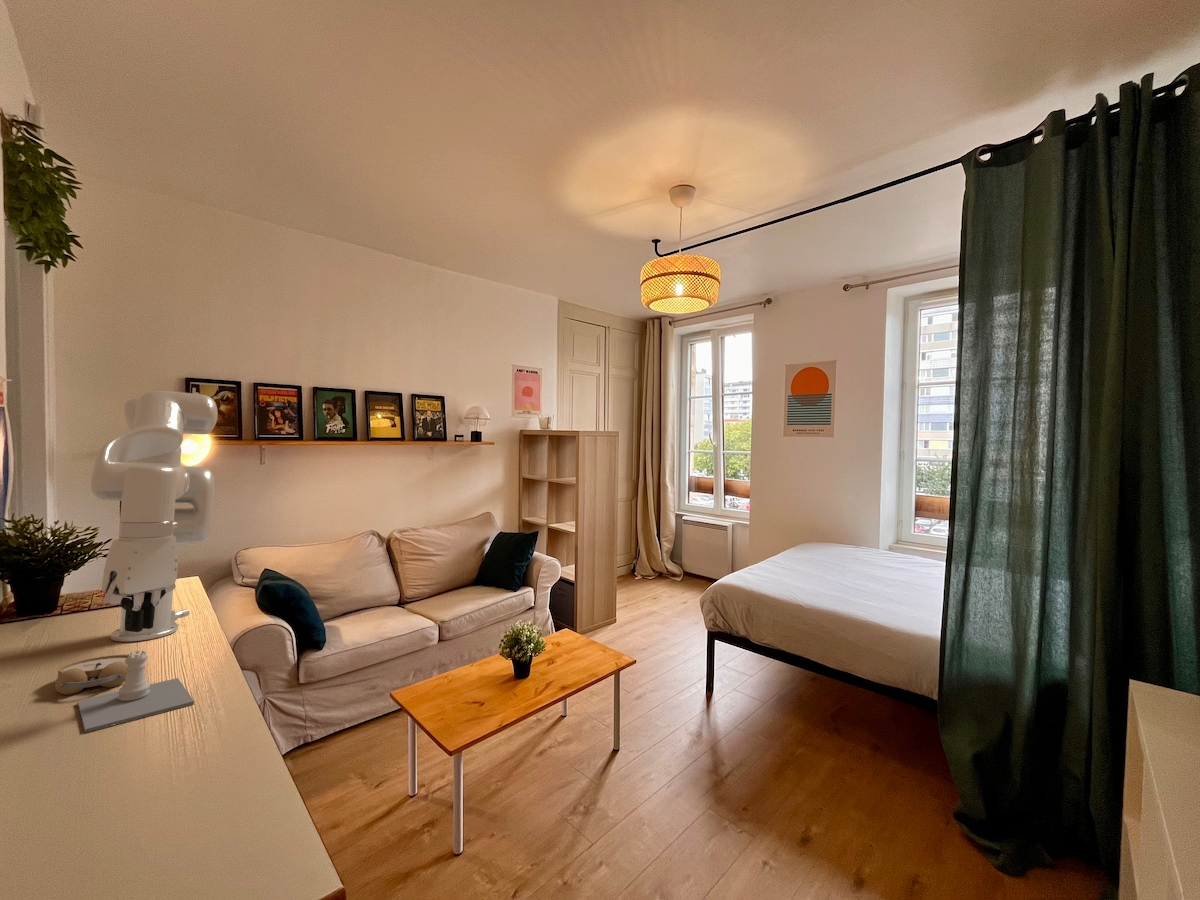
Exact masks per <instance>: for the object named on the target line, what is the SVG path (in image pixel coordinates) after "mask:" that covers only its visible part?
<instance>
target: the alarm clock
mask: <svg viewBox="0 0 1200 900" xmlns="http://www.w3.org/2000/svg"><path fill="white" fill-rule="evenodd" d="M127 657H128V653H127V654H125V653H124V654H112V655H102V656H98V657H91V658H87V659H82V660H78V661H73V662H70V663H67V664H64V665H62V666H60V667H59V668H57V678H56V679H55V683H54V687H55V690H56V691H57V692H58V693H59V694H61V695H65V696H66V695H67V696H68V695H69V696H71V695H74V693H75V694H78V693H79V692H81V691H82V690H83V689H84V688H85V689H86V688H92V687H98V686H101V687H103V688H107V689H108V688H109V689H110V688H115V687H117V686H120V685H123V684H124V682H125V679H126V675H127V669H126V667H127V666H128V663H126V662H125V659H126V658H127Z"/></svg>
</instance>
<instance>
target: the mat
mask: <svg viewBox="0 0 1200 900" xmlns="http://www.w3.org/2000/svg"><path fill="white" fill-rule="evenodd" d="M149 684H150V688H149V690H150V692H149V693H148V695H147V696H145V697H143V698H141V699H138V700H134V701H127V702H124V701H120V700H119V699H118V696H119V695H120V694H119V693H118V692H119V691H116V692H111V693H106V694H102V695H97V696H93V697H88V698H84V699H80V700H77V707H78V706H79V708H78V711H79V710H80V712H79V715H80V714H81V716H80V719H82V720H81V723H82V722H83V723H82V726H83V727H82V728H83V731H84V733H85V734H87V733H90V732H94V731H93V730H95V731H99V730H102V729H101V728H103V729H105V728H104V727H106V728H108V727H107V726H110V727H112V726H111V725H113V724H118V723H122V722H125V723H128V722H127V721H129V722H132V721H131V720H133V721H135V720H136V719H137V720H140V719H144V718H148V717H151V716H155V715H158V714H162V713H166V712H170V711H174V710H178V709H183V708H186V707H189V706H192V705H193V706H194V705H195V700H194V699H193V697H192V696H191V694H190V693H189V691H188V690H187V689H186V687H185V686H184V684H183V683H182V682H181V681H180V678H178V677H176V678H172V679H167V680H163V681H158V682H153V683H149ZM143 717H144V718H143ZM122 724H123V723H122ZM118 725H119V724H118ZM98 729H99V730H98ZM86 732H87V733H86Z"/></svg>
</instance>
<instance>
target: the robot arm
mask: <svg viewBox="0 0 1200 900" xmlns="http://www.w3.org/2000/svg"><path fill="white" fill-rule="evenodd" d="M123 411H124V417H125V421H126V425H127V427H128V429H129V431H126V432H124V433H122V434H120V435H118V436H116V437H114V438H112V439H111V440H109V441H107V442H106V443H105V444H104V445H103V446H102V447H100V449H99V450H98V453H97V455H96V457H95V460H94V464H93V467H92V473H91V478H90V489H91V492H92V494H93V495H94V497H96V499H97V498H98V499H99V500H103V501H106V502H107V501H111V502H112V501H113V502H120V501H121V505H120V517H119V528H118V538H116V539H113V540H112V542H111V544H110V547H109V550H108V553H107V556H106V560H105V565H104V568H103V569H104V570H103V576H102V582H101V591H102V593H103V594H105V596H104V599H103V603H104V604H111V605H118V606H119V607H120V608H121V610H120V622H119V623H120V625H119V628H118V629H115V630H113V631H112V632H111V633H110V639H111V640H112V641H114V642H125V643H126V642H139V641H148V640H154V639H157V638H162V637H165V636H169V635H171V634H173V633H175V632H176V631H177V630H178V628H179V624H178V623H177V622H176V621H178V619H181V618H185V617H188V616H189V615H190V610H189V609H187V608H186V609H182V610H179V611H176V610H172V609H173V599H174V598H173V594H174V590H175V589H176V587H177V586H176V582H177V577H178V571H179V570H178V569H179V568H178V567H179V556H178V553H179V552H178V546H179V545H180V546H181V545H198V544H203V543H205V542H207V541H208V540H210V538H211V536H212V532H213V527H214V526H213V523H214V508H215V507H214V506H215V493H216V492H215V491H216V490H215V488H216V487H215V486H216V485H215V484H216V483H215V476H214V474H213V472H212V471H211V470H210V469H209V468H205V467H201V466H200V467H198V466H197V467H196V466H194V467H193V466H182V465H181V457H182V444H183V441H184V434H190V435H192V434H193V435H208V434H210V433H212V431H213V429H214V428H215V427H216V424H217V421H218V412H219V411H218V406H217V403H216V401H215V400H214V399H213V398H212V397H210V396H208V395H206V394H202V393H191V392H184V391H183V392H182V391H175V390H174V391H172V390H158V389H157V390H151V391H147V392H145V393H142V395H140V396H137V397H133V398H130V399H128V400H127V401H126V402H125V404H124V410H123ZM176 504H190V505H191V506H192V507H191V508H190V507H189V508H188V507H181V508H180V507H179V508H176Z"/></svg>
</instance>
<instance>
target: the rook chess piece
mask: <svg viewBox="0 0 1200 900" xmlns="http://www.w3.org/2000/svg"><path fill="white" fill-rule="evenodd" d="M140 652H141V653H140ZM127 655H128V657H127V658H126V659H125V662H126V663H128V666H127V667H126V669H127V675H126V679H125V681H124V682H123V683H122V684H121V687H120V688H119V690H118V691H117V692H118V693H119V694H120V695H119V696H118V699H119V700H120V701H124V702H127V701H134V700H138V699H141V698H143V697H145V696H147V695H148V693H149V692H150V690H149V688H150V684H151V683H149V682H148V680H147V679H146V672H145V669H146V667H147V664H146V661H147V659H148V658H149V657H150V655H148V654H147V651H146V650H141V651H140V650H136V652H134V651H132V652H130V653H127Z"/></svg>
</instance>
